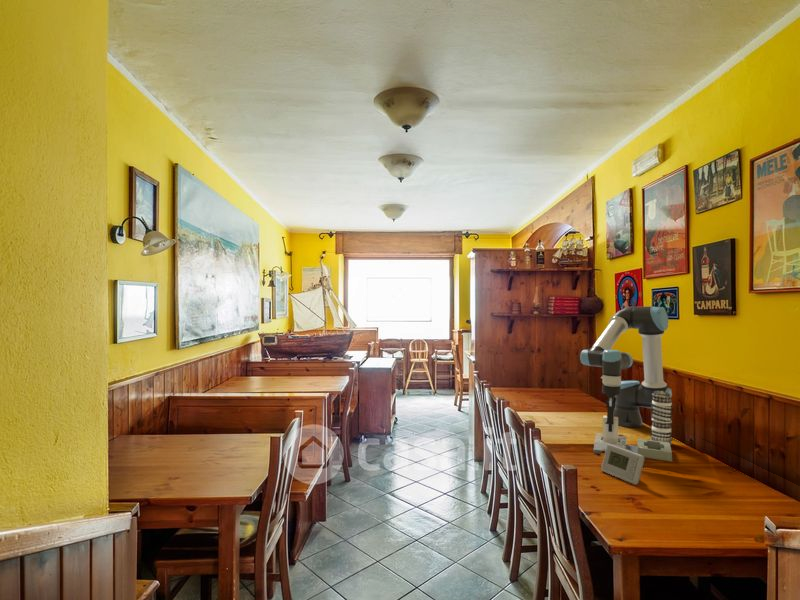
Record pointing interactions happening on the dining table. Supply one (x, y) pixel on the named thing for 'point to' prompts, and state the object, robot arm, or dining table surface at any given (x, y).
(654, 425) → the decorative candle
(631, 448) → the board
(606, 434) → the plug
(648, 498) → the dining table surface
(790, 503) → the dining table surface
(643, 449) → the grey-green cross cutout frame
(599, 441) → the socket
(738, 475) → the dining table surface
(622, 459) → the digital clock
